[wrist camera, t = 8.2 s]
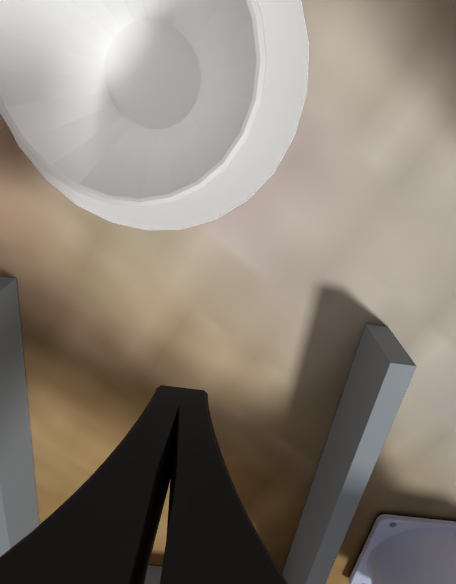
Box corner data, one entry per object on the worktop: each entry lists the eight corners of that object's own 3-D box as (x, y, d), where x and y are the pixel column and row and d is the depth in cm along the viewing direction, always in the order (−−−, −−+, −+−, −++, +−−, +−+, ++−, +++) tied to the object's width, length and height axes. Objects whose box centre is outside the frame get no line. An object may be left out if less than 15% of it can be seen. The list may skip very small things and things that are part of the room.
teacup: (366, 55, 16) (427, 30, 11) (184, 271, 19) (169, 323, 15) (108, -227, 12) (31, -440, 8) (-46, 100, 16) (-162, 96, 11)
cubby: (387, 326, 21) (416, 366, 17) (292, 587, 31) (300, 643, 27) (-9, 275, 19) (-55, 307, 16) (26, 563, 29) (2, 618, 26)
